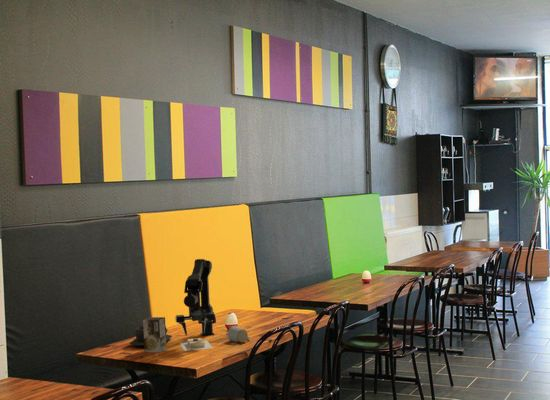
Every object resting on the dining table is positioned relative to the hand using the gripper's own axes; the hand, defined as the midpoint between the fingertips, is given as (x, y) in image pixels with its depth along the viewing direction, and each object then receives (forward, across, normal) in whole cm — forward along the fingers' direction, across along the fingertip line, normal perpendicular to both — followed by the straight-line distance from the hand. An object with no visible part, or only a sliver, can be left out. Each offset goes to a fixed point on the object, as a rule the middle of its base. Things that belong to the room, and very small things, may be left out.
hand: (195, 334), depth 365 cm
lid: (+5, 0, 0) cm, 5 cm away
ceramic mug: (+6, +22, +2) cm, 23 cm away
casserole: (+6, -20, +16) cm, 27 cm away
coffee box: (+6, -20, -2) cm, 21 cm away
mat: (+6, 0, 0) cm, 6 cm away
